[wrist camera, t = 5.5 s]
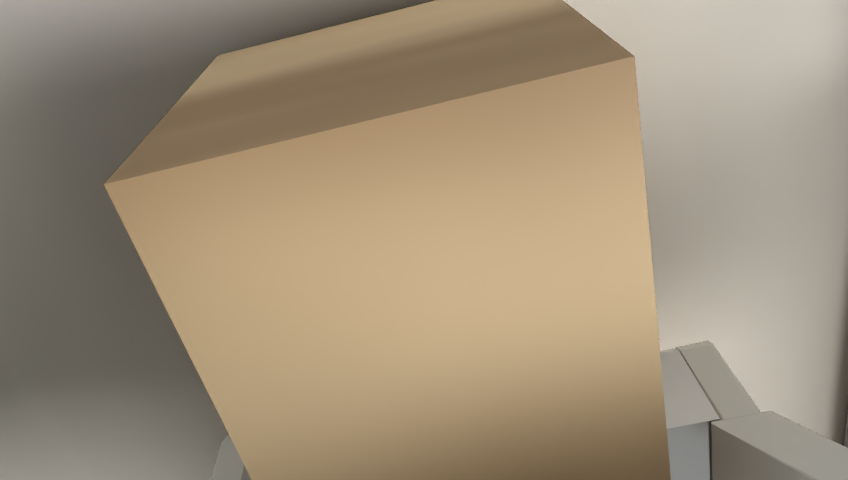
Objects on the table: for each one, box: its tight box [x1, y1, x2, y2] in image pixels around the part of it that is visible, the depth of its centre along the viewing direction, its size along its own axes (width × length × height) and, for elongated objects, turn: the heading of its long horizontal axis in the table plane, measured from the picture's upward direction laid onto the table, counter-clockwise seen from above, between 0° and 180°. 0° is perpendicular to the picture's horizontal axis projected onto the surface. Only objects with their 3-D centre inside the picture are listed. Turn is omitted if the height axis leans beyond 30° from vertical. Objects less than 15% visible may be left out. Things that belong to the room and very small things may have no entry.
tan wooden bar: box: [104, 0, 671, 480], centre depth 11 cm, size 12×4×4 cm, turn 13°
